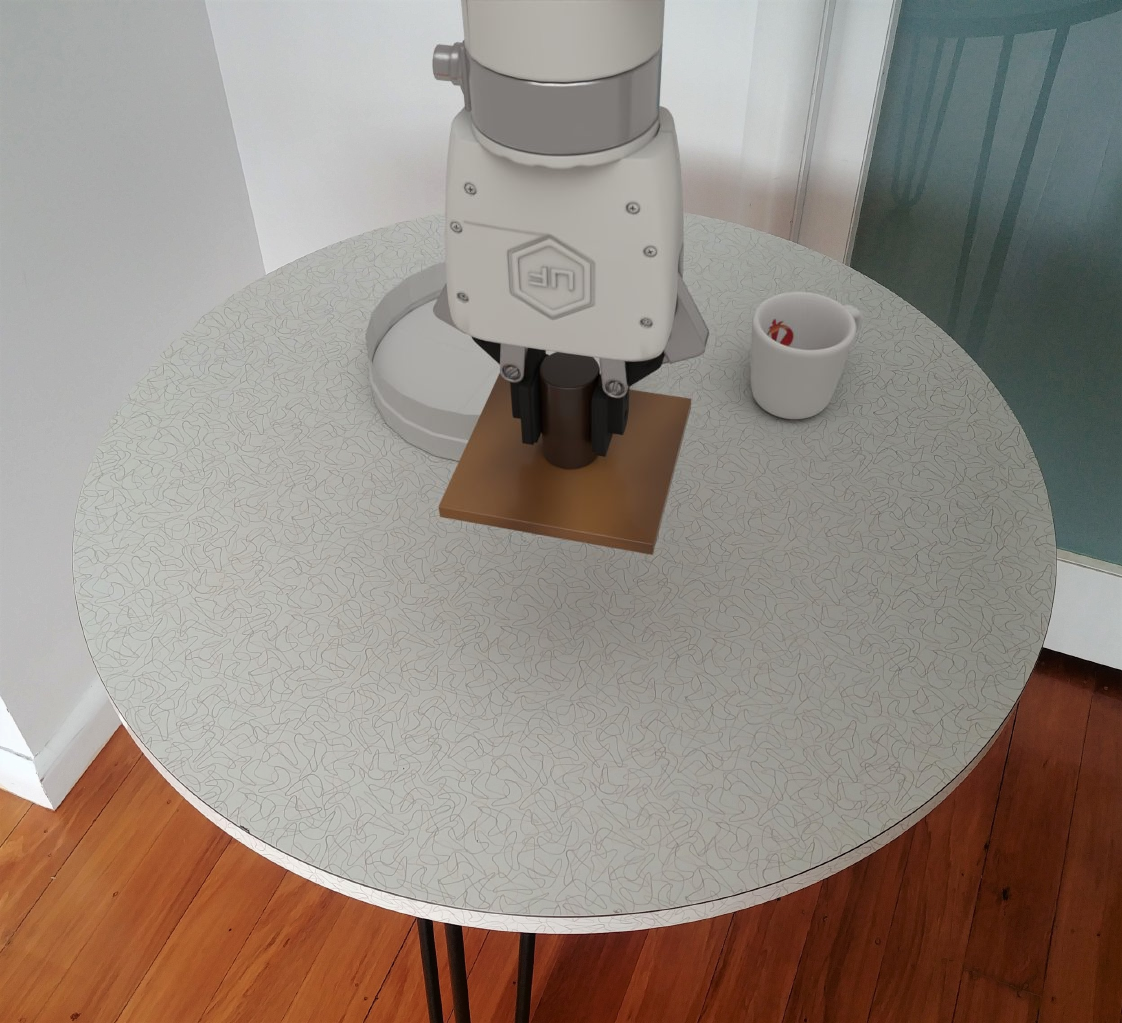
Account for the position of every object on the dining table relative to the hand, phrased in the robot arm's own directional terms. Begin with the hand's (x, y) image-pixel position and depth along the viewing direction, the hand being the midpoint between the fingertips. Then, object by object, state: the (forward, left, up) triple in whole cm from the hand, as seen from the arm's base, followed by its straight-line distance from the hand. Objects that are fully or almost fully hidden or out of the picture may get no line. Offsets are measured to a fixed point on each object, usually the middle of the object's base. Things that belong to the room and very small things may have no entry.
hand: (570, 429), depth 55 cm
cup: (-11, -31, -21) cm, 39 cm away
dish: (+14, -27, -21) cm, 37 cm away
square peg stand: (0, 0, -2) cm, 2 cm away
